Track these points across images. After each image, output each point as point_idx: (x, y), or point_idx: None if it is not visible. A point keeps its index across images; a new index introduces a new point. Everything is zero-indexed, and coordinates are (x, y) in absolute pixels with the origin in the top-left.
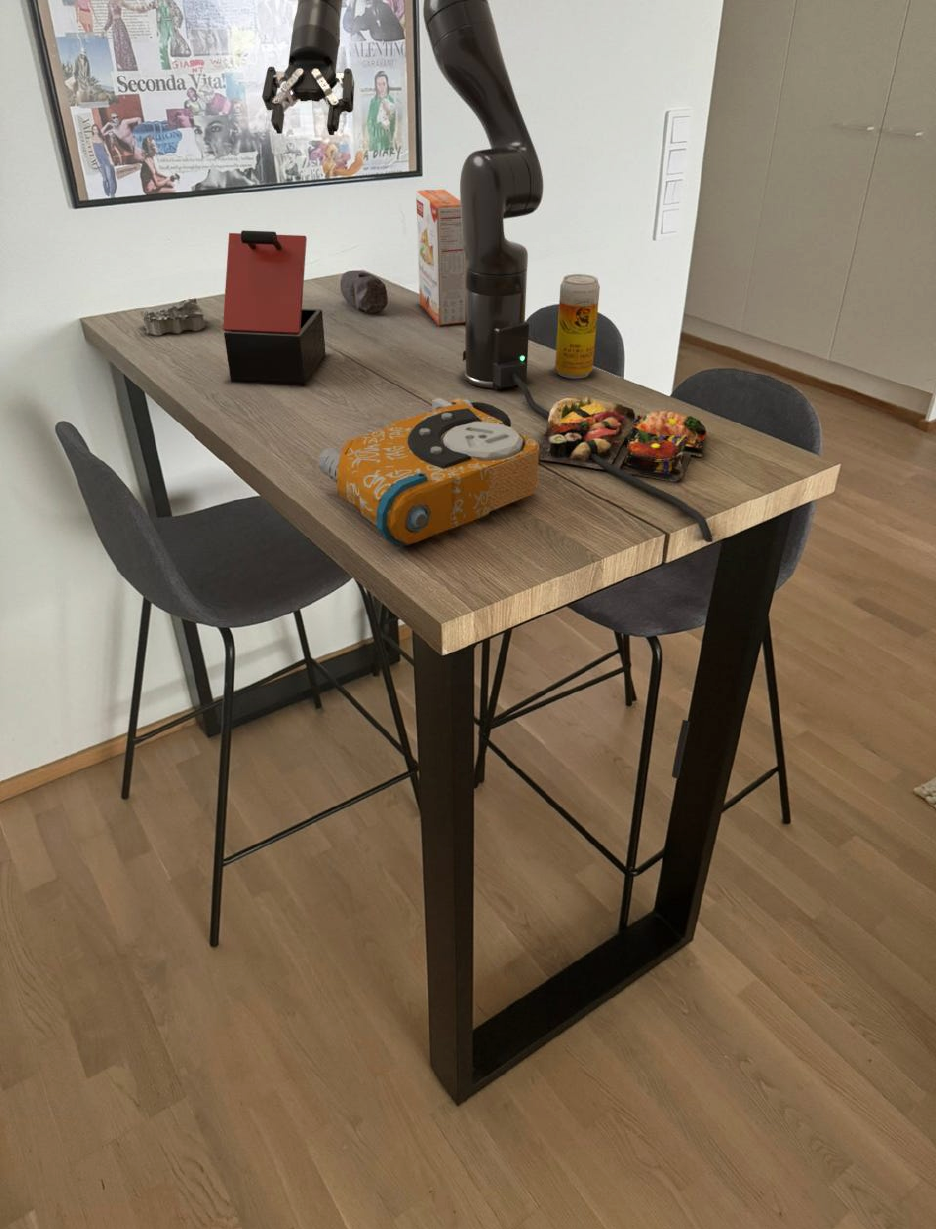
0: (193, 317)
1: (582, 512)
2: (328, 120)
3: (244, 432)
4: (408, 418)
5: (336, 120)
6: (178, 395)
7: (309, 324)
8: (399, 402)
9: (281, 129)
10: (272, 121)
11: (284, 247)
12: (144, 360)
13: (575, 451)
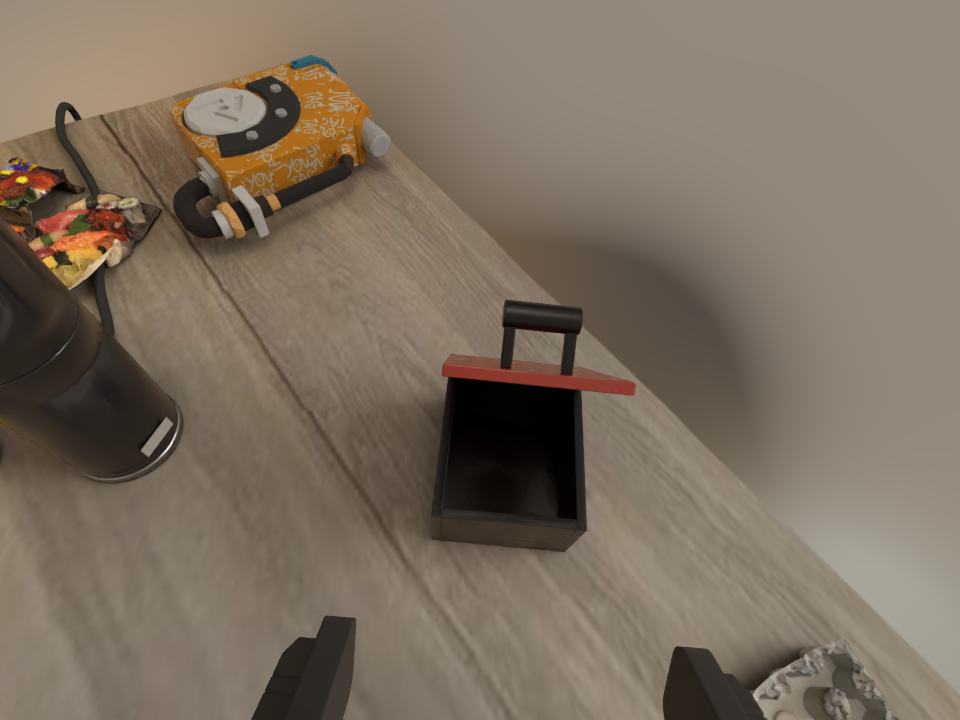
0: (761, 693)
1: (158, 139)
2: (337, 642)
3: (494, 271)
4: (294, 147)
5: (278, 668)
6: (616, 366)
7: (443, 420)
8: (304, 347)
9: (672, 717)
10: (739, 690)
11: (492, 366)
12: (742, 501)
13: (116, 197)
